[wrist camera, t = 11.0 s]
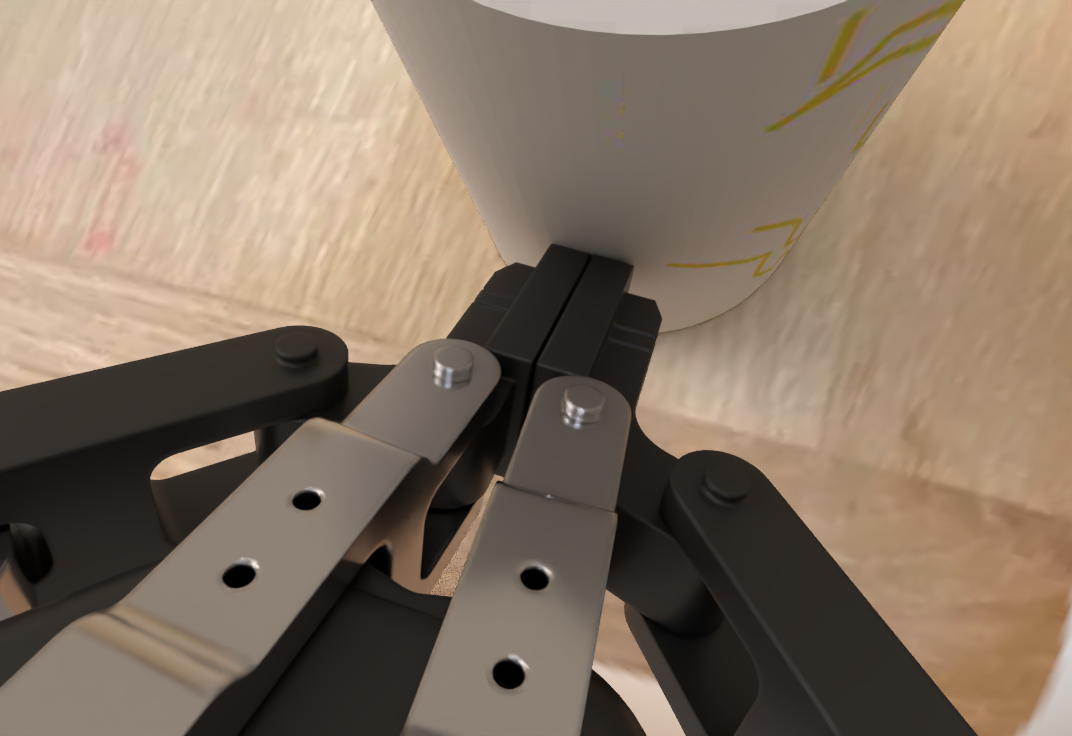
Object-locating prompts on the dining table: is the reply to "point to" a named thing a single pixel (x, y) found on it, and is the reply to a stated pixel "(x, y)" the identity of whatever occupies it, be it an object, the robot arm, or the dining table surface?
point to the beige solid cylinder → (659, 124)
